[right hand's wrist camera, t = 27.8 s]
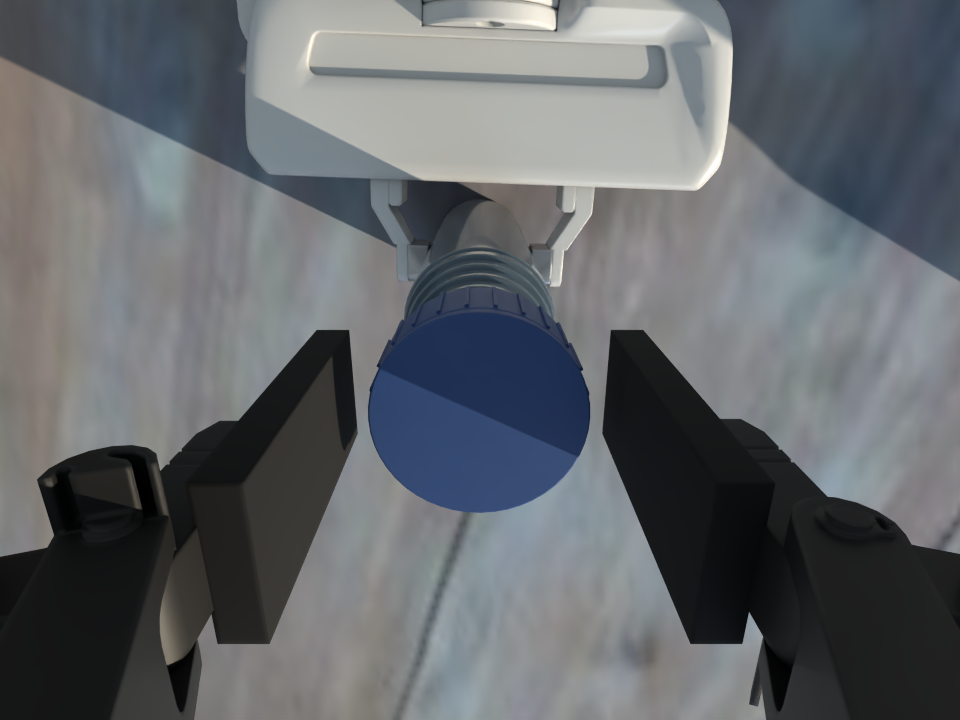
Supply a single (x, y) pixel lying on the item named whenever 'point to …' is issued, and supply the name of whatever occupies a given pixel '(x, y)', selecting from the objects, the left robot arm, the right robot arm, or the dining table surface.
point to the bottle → (479, 257)
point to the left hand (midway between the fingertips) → (479, 281)
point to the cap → (479, 401)
